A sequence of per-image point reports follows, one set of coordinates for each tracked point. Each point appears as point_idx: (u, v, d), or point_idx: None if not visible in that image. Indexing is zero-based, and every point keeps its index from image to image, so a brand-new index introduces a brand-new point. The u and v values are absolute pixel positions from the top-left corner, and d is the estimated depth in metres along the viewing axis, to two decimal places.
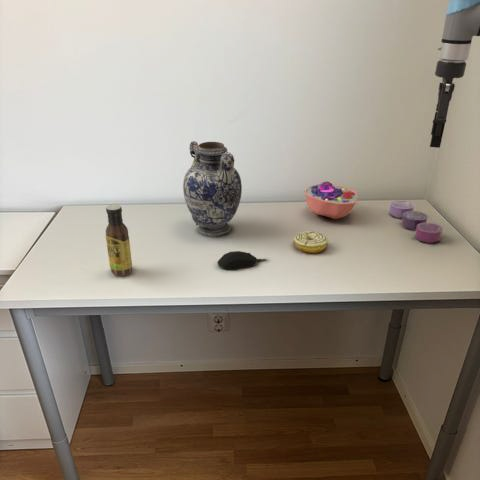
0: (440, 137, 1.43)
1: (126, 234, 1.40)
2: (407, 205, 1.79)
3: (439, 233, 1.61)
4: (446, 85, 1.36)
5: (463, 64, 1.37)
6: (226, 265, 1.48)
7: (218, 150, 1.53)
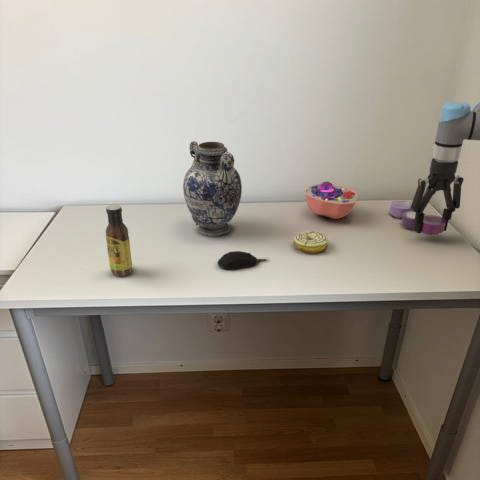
0: (419, 224, 1.61)
1: (126, 234, 1.40)
2: (407, 205, 1.79)
3: (442, 225, 1.60)
4: (419, 181, 1.54)
5: (443, 164, 1.49)
6: (226, 265, 1.48)
7: (218, 150, 1.53)
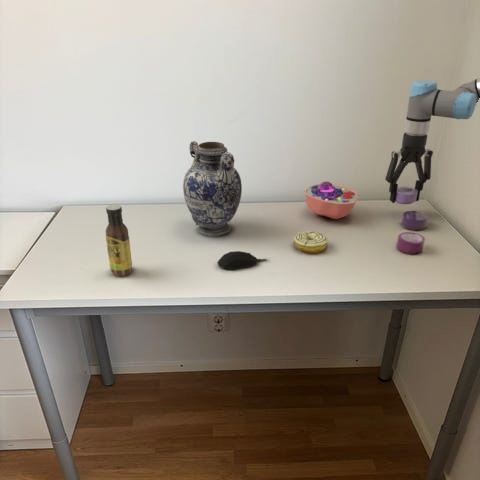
0: (393, 194, 1.76)
1: (126, 234, 1.40)
2: (411, 191, 1.76)
3: (421, 243, 1.55)
4: (392, 153, 1.69)
5: (413, 137, 1.64)
6: (226, 265, 1.48)
7: (218, 150, 1.53)
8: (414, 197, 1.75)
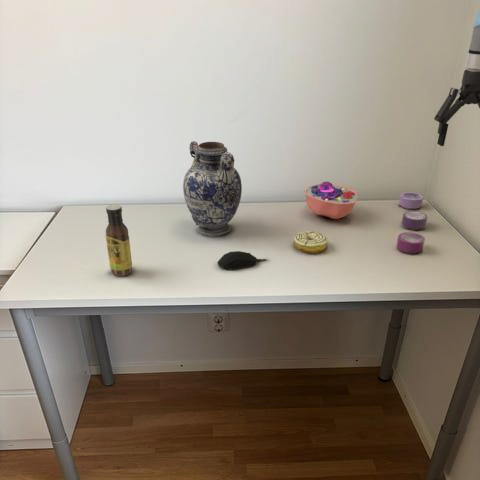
0: (442, 136, 1.58)
1: (126, 234, 1.40)
2: (416, 197, 1.86)
3: (421, 243, 1.55)
4: (452, 89, 1.52)
5: (476, 73, 1.47)
6: (226, 265, 1.48)
7: (218, 150, 1.53)
8: (419, 203, 1.85)
